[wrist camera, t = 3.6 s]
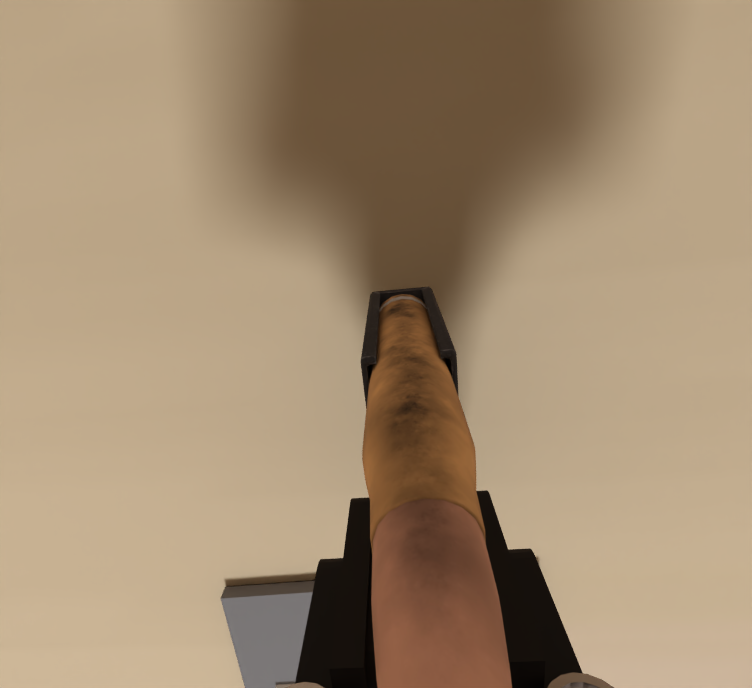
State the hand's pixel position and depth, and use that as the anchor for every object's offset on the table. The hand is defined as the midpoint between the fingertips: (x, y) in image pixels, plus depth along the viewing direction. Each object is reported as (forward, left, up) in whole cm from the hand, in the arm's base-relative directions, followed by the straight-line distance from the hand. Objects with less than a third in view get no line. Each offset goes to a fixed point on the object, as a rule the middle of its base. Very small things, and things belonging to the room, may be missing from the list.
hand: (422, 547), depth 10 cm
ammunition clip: (0, 0, -5) cm, 5 cm away
